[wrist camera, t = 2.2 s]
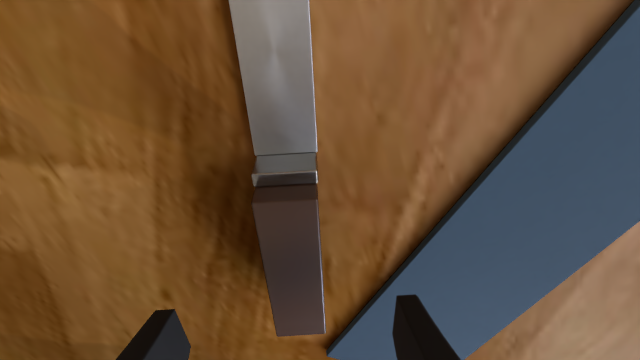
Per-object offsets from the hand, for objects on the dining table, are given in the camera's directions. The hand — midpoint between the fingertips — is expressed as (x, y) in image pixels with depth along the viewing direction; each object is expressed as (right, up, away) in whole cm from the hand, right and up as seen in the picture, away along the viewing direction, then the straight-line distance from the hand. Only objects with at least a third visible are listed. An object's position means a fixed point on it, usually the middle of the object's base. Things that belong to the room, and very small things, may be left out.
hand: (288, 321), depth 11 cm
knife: (0, +7, +2) cm, 7 cm away
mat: (+11, +1, +7) cm, 12 cm away
